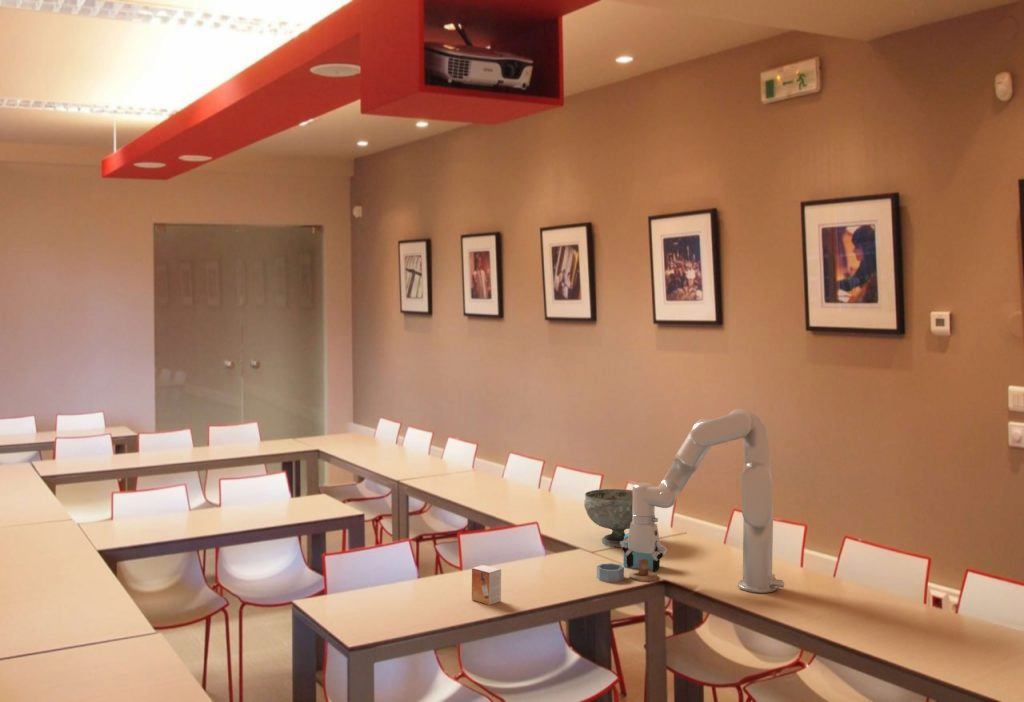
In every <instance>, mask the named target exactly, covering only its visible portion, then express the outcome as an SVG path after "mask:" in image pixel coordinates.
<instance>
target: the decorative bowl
mask: <svg viewBox="0 0 1024 702" xmlns="http://www.w3.org/2000/svg"><path fill="white" fill-rule="evenodd" d="M584 497H585V498H584V500H583V501H584V504H583V505H584V509H585V511H586V514H587V516H588V518H589V519H590V520H591V522H593V523H594V524H596V526H599V527H601V528H604V529H610V530H611V531H612V533H610V534H606V535H604V536H603V537H602V538H601V544H602V543H603V544H602V545H604V544H605V546H608V545H609V546H608V547H614V546H616V548H617V547H618V548H619V547H620V548H622V547H621V544H620V542H621V541H623V540H624V537H625V535H626V534H627V533H625V531H626V530H629V529H630V524H631V522H632V510H633V489H628V488H627V489H625V488H602V489H594V490H589V491H587V492H585V493H584Z"/></svg>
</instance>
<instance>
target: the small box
mask: <svg viewBox="0 0 1024 702" xmlns="http://www.w3.org/2000/svg"><path fill="white" fill-rule="evenodd" d="M501 594H502V569H501V568H496V567H492V566H489V565H485V564H481V565H478V566H475V567H472V568H471V600H472V601H475V602H478V603H482V604H485V605H487V606H490V605H493V604H497V603H499V602H501V600H502V595H501Z"/></svg>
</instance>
